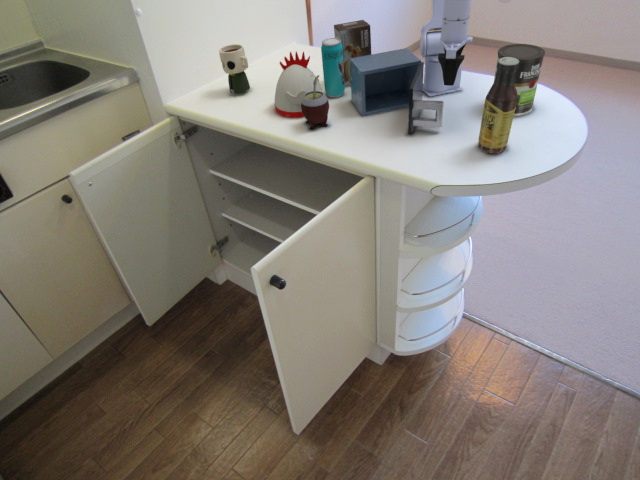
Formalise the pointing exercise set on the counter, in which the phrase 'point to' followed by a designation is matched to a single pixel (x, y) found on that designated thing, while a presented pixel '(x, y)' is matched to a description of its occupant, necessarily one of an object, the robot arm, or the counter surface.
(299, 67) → the white chicken figure
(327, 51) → the beverage can
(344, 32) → the coffee box
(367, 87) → the blue-gray cabinet body
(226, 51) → the character mug
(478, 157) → the counter surface
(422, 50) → the robot arm
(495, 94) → the sauce bottle
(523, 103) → the coffee can
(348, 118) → the counter surface
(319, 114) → the mate gourd
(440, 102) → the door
